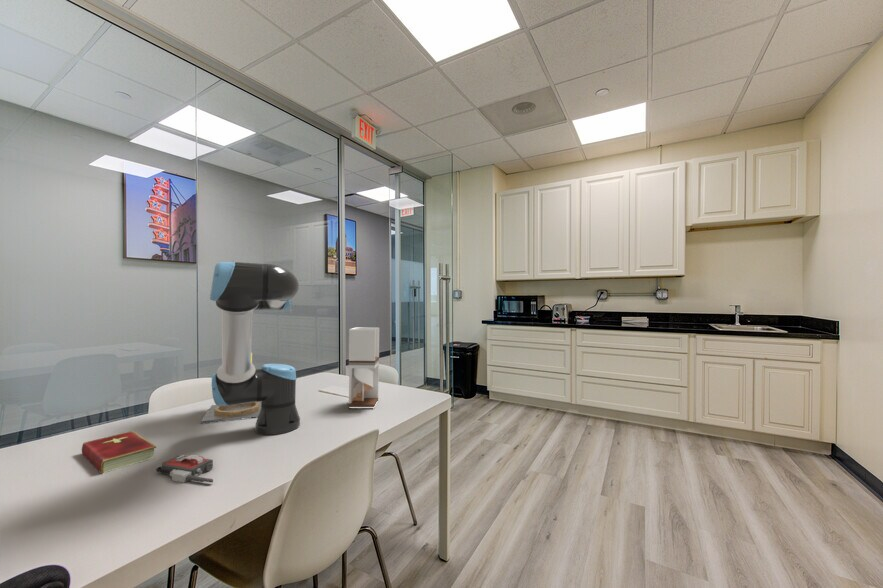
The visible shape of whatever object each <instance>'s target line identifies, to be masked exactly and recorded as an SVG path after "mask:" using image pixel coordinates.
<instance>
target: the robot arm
mask: <svg viewBox="0 0 883 588" xmlns="http://www.w3.org/2000/svg"><path fill="white" fill-rule="evenodd" d="M213 269H214V270H213V276H212V282H211V289H210V295H209V299H210V300H211V301H212V302H215V306H216V308H217V309H219V310H221V365H220V366H218V368H217V369H216V372H214V373H212V375H211V393H212V398H213V403H214V405H218V406H231V405H237V404H245V403H252V402H261V410H260V413H259V416H258V417H257V419H256V422H255V425H254V427H255V428H254V431H255V432H256V433H257V434H260V435H265V436H266V435H271V436H273V435H279V434H285V433H289V432H292V431H294V430H296V429H298V428H299V427H300V425H301V417H300V414H299V411H298V409H297V405H296V397H297V396H296V395H297V393H296V392H297V391H296V388H297V387H296V385H297V383H296V381H297V373H296V368H295V367H294V366H292V365H289V364H285V363H265V364H263V365H262V366H261V368H258V369H256V366H255V365H254V363H253V362H252V363H251V353H252V343H253V321H254V318H253V317H254V310H255V311H256V310H257V311H258V310H264V311H266V310H267V311H269V310H272V311H273V310H274V311H275V310H277V311H278V310H279V311H282V310H288V309H289V310H290V306H291V300H292V299H293V298H294V297H295V296H297V294H298V292H299V289H300V287H299V281H298V278H297V277H296V276H295V275H294V273H293V272H291V271H290V270H288V269H287V268H285V267H283V266H282V265H278V264H272V263H257V262H256V263H255V262H241V261H240V262H239V261H237V262H236V261H233V260H232V261H219V262H217V263H216V264H215V265H214V268H213Z"/></svg>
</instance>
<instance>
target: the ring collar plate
mask: <svg viewBox="0 0 883 588" xmlns="http://www.w3.org/2000/svg"><path fill="white" fill-rule="evenodd" d="M260 410H261V402H252V403H245V404H237V405H231V406H218V405H216V404H212V405H211V406H210V407H209V408H208V410H207V412H206V413H205V414H204V416H203V418H202V419H201V420H200V424H201V425H203V423H205V424H211V423H210V422H214V423H219V422H218V421H222V422H227V421H226V420H231V421H235V420H234V419H240V420H243V419H242V418H249V419H251V418H250V417H257V418H258V416H259V413H260Z"/></svg>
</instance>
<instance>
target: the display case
mask: <svg viewBox="0 0 883 588" xmlns="http://www.w3.org/2000/svg"><path fill="white" fill-rule="evenodd" d="M348 330H349V331H348V332H349V333H348V334H349V336H348V338H349V339H348V369H349V371H348V373H349V374H348V378H349V379H348V382H349V383H348V403H347V408H348V407H374V406H375V404H376V402H377V401H378V402H379V378H380V375H379V374H380V373H379V371H380V368H379V366H380V363H379V362H380V327H353V328H349V329H348Z"/></svg>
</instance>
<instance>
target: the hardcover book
mask: <svg viewBox="0 0 883 588" xmlns="http://www.w3.org/2000/svg"><path fill="white" fill-rule="evenodd" d="M156 448H157V445H155V444H154V443H152V442H151V441H150V440H148V439H146V438H144V437H143V436H142V435H140V434H138V433H137V432H135V431H134V430H132V431H131V430H130V431H127V432H123V433H119V434H113V435H111V436H109V435H108V436H106V437H101V438H97V439H96V438H95V439H92V440H89V441H84V442H83V443H82V446H81V454H82V455H83V456H84V458H85V459H86V460H87V461H88V462H89V463H90V464H91V465H93V466H94V468H95V469H96V470H97V471H98V472H99V471H100V472H101V473H102V475H104V474H105V473H104V472H106V473H108V472H107V471H109V472H112V471H115V470H114V469H116V470H118V468H119V469H121V468H125V466H126V467H129V466H131V465H135V463H136V464H139V463H142V462H146V461H148V459H149V460H152V459H155V449H156ZM145 460H146V461H145ZM141 461H142V462H141ZM111 470H112V471H111ZM100 472H99V473H100ZM103 473H104V474H103Z"/></svg>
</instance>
